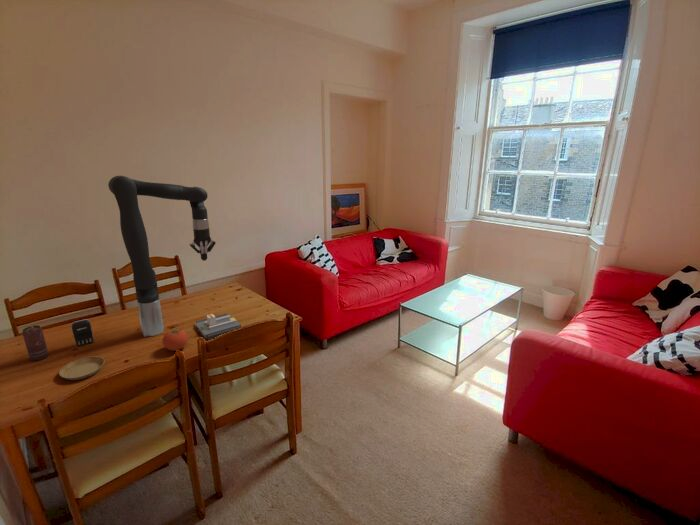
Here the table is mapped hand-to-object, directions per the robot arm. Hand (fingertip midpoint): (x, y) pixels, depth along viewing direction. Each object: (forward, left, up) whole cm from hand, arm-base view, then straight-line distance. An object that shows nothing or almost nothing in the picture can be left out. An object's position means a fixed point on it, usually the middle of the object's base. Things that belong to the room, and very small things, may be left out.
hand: (204, 260), depth 181 cm
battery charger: (-55, +4, -32) cm, 64 cm away
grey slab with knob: (-1, -16, -32) cm, 36 cm away
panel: (-1, -16, -32) cm, 36 cm away
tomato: (-23, -25, -32) cm, 47 cm away
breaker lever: (-4, -16, -30) cm, 34 cm away
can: (-71, +2, -32) cm, 78 cm away
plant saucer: (-57, -21, -32) cm, 69 cm away
